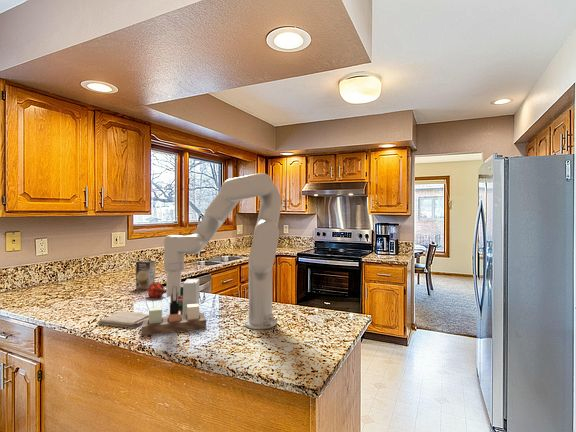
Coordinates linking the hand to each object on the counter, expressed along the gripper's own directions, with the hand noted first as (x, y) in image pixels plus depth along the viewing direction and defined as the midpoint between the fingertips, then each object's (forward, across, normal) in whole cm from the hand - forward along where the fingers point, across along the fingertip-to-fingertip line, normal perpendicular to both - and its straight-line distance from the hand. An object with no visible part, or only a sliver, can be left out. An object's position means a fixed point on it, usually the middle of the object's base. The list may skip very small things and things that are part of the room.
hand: (174, 313), depth 129 cm
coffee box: (+6, -78, -15) cm, 79 cm away
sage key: (+3, 0, -7) cm, 7 cm away
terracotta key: (+5, 0, 0) cm, 5 cm away
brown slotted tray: (+6, 0, 0) cm, 6 cm away
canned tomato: (+6, -26, +3) cm, 27 cm away
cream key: (+3, 0, +7) cm, 8 cm away
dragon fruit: (+6, -53, -8) cm, 54 cm away
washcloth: (+6, -14, -19) cm, 24 cm away
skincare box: (+6, -16, +7) cm, 19 cm away
